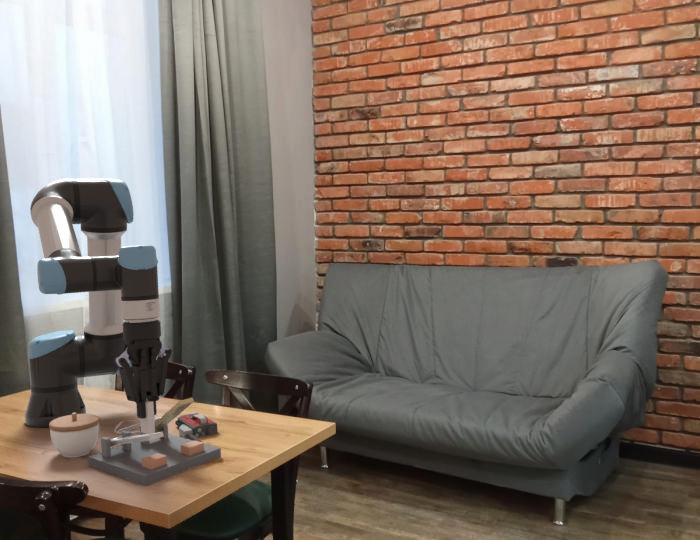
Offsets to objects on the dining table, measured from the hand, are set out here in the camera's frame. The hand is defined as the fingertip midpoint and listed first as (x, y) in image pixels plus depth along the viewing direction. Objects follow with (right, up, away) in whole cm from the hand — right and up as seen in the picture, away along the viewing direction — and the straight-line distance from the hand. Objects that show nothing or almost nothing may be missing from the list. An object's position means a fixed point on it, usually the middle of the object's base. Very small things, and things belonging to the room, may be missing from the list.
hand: (148, 432), depth 143 cm
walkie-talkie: (+5, -7, +27) cm, 28 cm away
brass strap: (+2, 0, +12) cm, 12 cm away
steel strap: (-4, -3, +4) cm, 6 cm away
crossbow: (-11, -7, +35) cm, 38 cm away
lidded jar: (-21, -8, +15) cm, 27 cm away
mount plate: (-1, -8, +8) cm, 11 cm away
